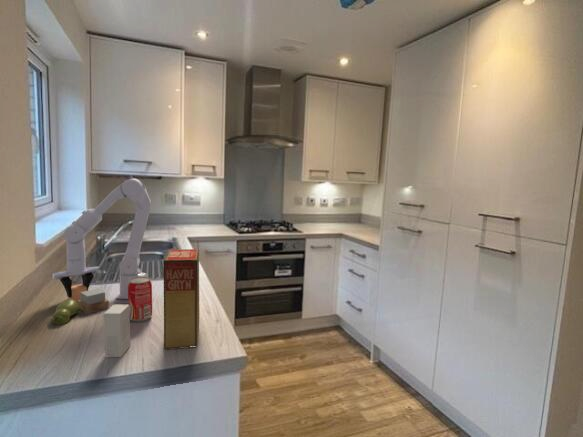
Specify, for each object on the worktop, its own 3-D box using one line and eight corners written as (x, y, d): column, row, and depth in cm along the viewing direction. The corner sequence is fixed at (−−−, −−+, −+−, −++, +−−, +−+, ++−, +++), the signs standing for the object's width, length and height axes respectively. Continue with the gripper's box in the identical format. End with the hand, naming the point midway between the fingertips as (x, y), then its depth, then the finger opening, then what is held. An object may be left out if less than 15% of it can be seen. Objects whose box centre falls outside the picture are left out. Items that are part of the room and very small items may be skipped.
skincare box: (114, 345, 94) (113, 303, 92) (130, 345, 94) (130, 304, 93) (104, 357, 88) (103, 313, 86) (121, 357, 88) (120, 313, 87)
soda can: (156, 315, 114) (156, 278, 112) (140, 324, 107) (140, 284, 105) (139, 312, 116) (139, 274, 114) (123, 320, 109) (122, 280, 108)
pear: (80, 296, 113) (66, 313, 103) (82, 310, 114) (68, 328, 105) (62, 296, 112) (45, 313, 102) (64, 310, 113) (48, 329, 104)
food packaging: (168, 327, 106) (168, 248, 103) (199, 326, 108) (201, 248, 105) (162, 349, 93) (162, 260, 90) (198, 347, 95) (199, 259, 92)
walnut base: (99, 303, 123) (99, 295, 122) (108, 309, 118) (108, 300, 118) (78, 308, 117) (77, 300, 117) (86, 315, 113) (86, 306, 112)
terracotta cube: (81, 295, 128) (81, 284, 127) (86, 299, 125) (86, 287, 124) (68, 298, 124) (67, 286, 124) (72, 302, 121) (72, 290, 121)
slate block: (97, 296, 121) (97, 288, 121) (105, 300, 118) (104, 292, 117) (80, 300, 117) (80, 292, 116) (88, 305, 113) (87, 296, 113)
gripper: (93, 253, 131) (94, 287, 132) (48, 259, 119) (50, 297, 121) (101, 257, 126) (102, 292, 128) (55, 263, 115) (57, 302, 117)
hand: (77, 295), depth 124 cm, fingers closed on terracotta cube, 4 cm apart
